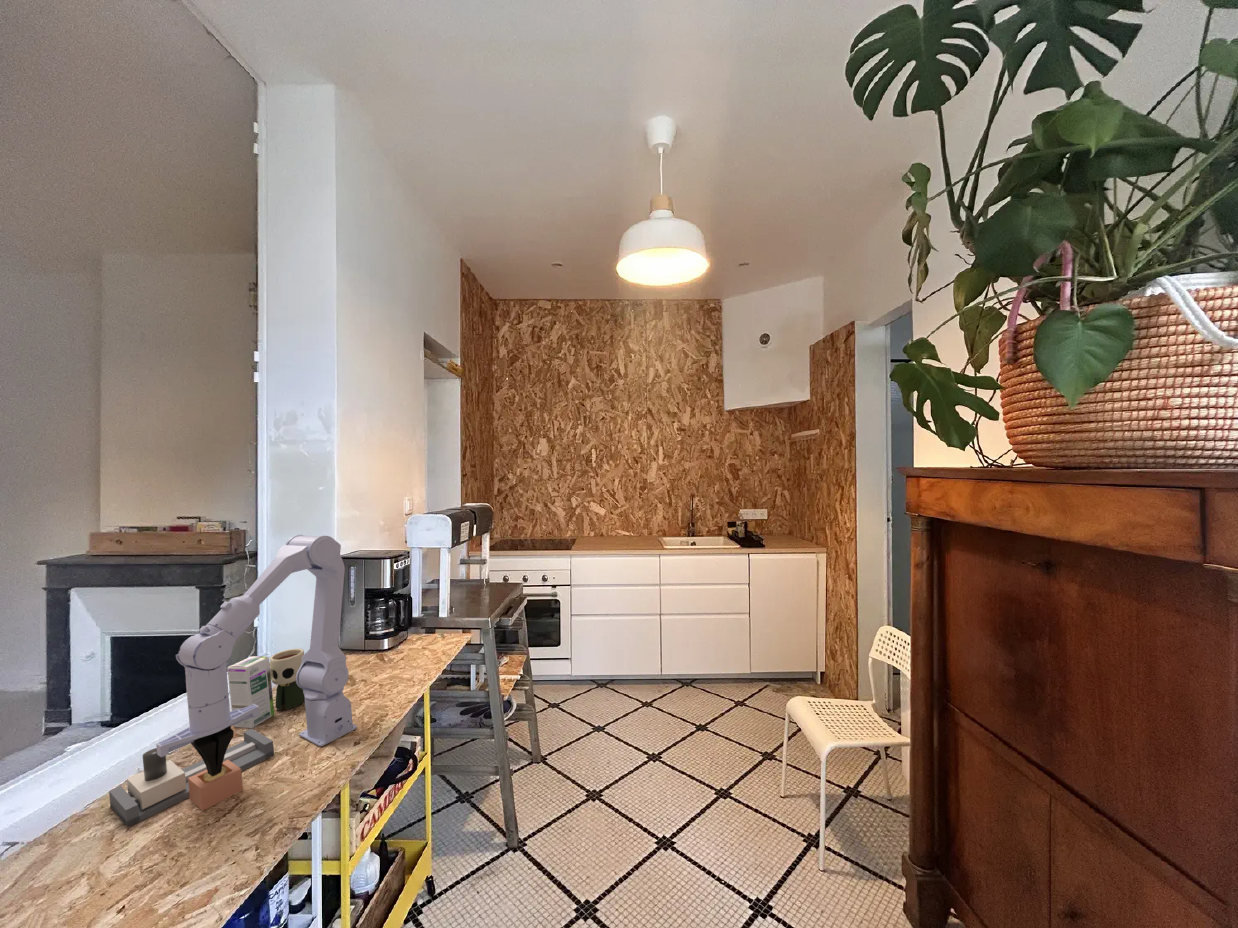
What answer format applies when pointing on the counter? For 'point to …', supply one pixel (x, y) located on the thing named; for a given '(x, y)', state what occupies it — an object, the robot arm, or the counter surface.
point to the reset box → (215, 786)
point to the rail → (240, 754)
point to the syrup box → (251, 688)
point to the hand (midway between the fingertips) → (214, 772)
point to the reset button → (209, 778)
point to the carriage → (156, 780)
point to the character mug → (287, 677)
